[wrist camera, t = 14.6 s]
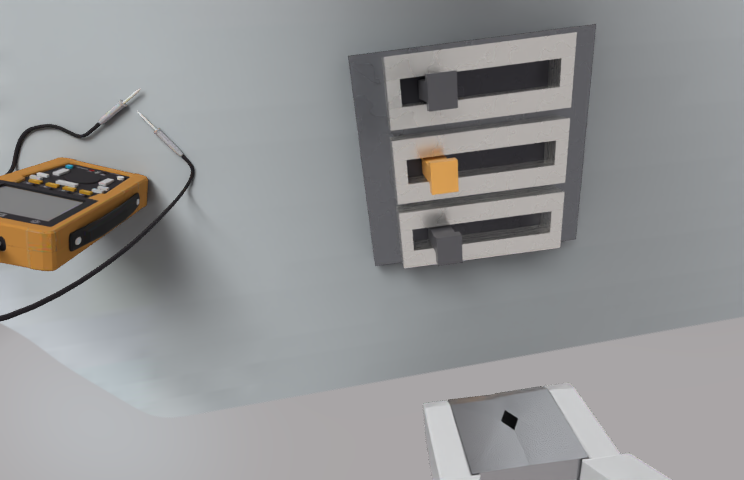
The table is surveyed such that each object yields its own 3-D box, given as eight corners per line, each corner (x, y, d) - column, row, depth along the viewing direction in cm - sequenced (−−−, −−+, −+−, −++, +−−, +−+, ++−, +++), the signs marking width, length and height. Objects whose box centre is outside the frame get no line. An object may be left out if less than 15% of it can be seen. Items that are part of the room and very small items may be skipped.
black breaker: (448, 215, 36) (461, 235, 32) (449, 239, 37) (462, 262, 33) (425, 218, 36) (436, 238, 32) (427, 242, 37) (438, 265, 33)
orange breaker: (443, 147, 33) (457, 159, 29) (444, 176, 34) (458, 191, 30) (419, 151, 33) (430, 163, 29) (421, 179, 34) (432, 195, 30)
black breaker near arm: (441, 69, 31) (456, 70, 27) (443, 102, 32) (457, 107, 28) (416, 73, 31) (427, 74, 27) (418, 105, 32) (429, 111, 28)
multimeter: (203, 103, 33) (26, 150, 15) (191, 214, 37) (39, 361, 19) (5, 51, 31) (-490, 32, 13) (14, 175, 35) (-359, 300, 16)
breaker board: (581, 26, 33) (611, 21, 29) (565, 231, 40) (587, 248, 36) (348, 56, 32) (348, 55, 29) (373, 256, 40) (376, 276, 36)
